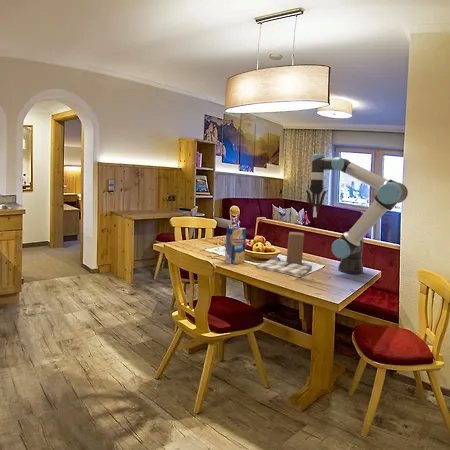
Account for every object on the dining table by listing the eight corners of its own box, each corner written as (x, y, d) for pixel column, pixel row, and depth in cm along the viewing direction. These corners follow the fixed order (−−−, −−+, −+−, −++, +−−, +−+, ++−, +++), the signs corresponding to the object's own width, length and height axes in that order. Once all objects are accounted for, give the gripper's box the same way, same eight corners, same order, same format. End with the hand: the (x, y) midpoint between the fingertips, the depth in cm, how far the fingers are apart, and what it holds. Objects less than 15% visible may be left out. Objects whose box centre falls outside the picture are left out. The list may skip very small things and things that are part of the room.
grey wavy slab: (311, 268, 250) (311, 266, 250) (306, 272, 243) (306, 269, 243) (292, 265, 257) (292, 262, 257) (286, 268, 250) (286, 265, 249)
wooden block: (301, 265, 262) (304, 235, 259) (286, 263, 264) (288, 233, 261) (301, 261, 272) (304, 232, 269) (287, 260, 274) (289, 231, 271)
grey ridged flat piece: (289, 264, 258) (289, 262, 258) (283, 268, 251) (283, 265, 250) (271, 261, 265) (271, 258, 264) (265, 264, 257) (265, 261, 257)
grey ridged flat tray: (307, 273, 241) (307, 270, 241) (301, 276, 233) (301, 273, 233) (262, 264, 257) (262, 262, 256) (255, 267, 248) (255, 265, 248)
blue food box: (244, 262, 261) (246, 228, 258) (231, 263, 254) (233, 229, 251) (237, 259, 266) (239, 227, 263) (224, 261, 260) (226, 227, 257)
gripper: (329, 179, 250) (326, 217, 253) (308, 179, 256) (306, 215, 259) (325, 179, 243) (323, 218, 246) (305, 178, 250) (302, 216, 252)
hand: (314, 217), depth 252 cm, fingers closed
